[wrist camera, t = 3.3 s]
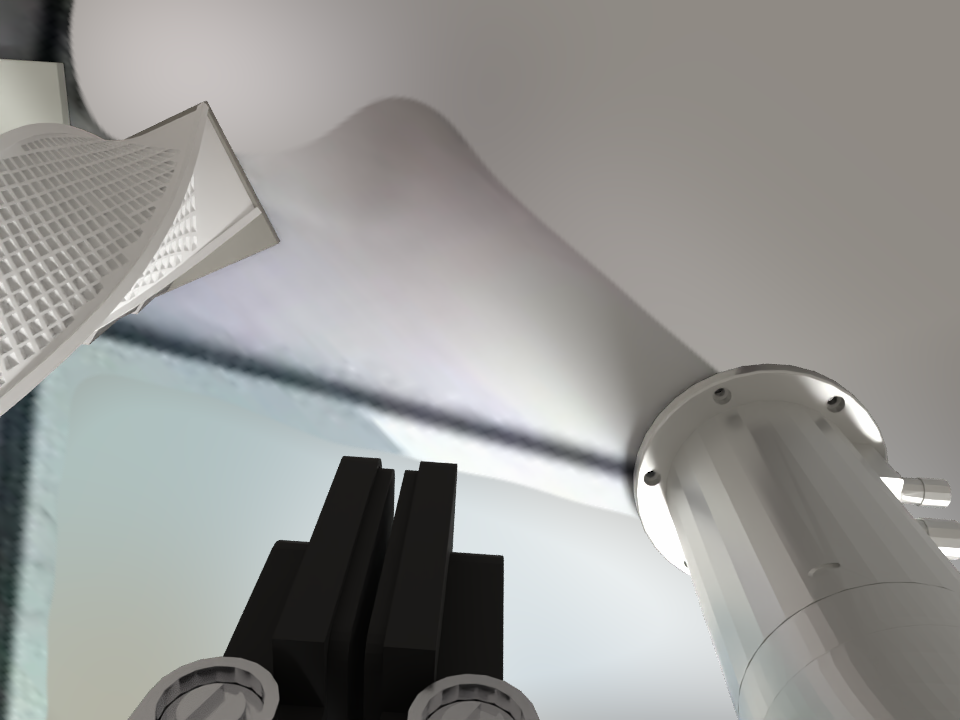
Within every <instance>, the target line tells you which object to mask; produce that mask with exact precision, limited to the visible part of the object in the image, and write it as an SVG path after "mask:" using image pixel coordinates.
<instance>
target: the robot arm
mask: <svg viewBox="0 0 960 720" xmlns="http://www.w3.org/2000/svg"><path fill="white" fill-rule="evenodd" d="M719 388H723V390H722V391H721V392H720V393H714V392H715V391H716V390H718V389H719ZM832 397H834V398H833V399H832V400H831V401H828V400H829V399H830V398H832ZM649 471H653V472H652V473H650V474H648V473H647V472H649ZM456 481H457V464H452V463H437V462H423V461H421V462H420V467H419V471H412V470H411V471H410V470H405V473H404V478H403V482H402V486H401V490H400V495H399V499H398V503H397V508H396V512H395V516H394V486H395V485H394V484H395V471H394V469H384V468H382V463H381V459H379V458H364V457H350V456H343V457H342V459H341V462H340V464H339V467H338V469H337V472H336V475H335V477H334V480H333V482H332V485H331V487H330V490H329V493H328V495H327V498H326V500H325V503H324V506H323V508H322V511H321V513H320V516H319V519H318V521H317V524H316V526H315V529H314V531H313V534H312V537H311V539H310V542H300V541H287V540H279V541H277V542H276V543H275V544H274V546H273V548H272V550H271V552H270V554H269V556H268V559H267V561H266V563H265V565H264V568H263V570H262V572H261V574H260V576H259V579H258V581H257V583H256V585H255V587H254V590H253V592H252V594H251V596H250V599H249V601H248V603H247V605H246V607H245V610H244V612H243V614H242V616H241V618H240V620H239V623H238V625H237V627H236V629H235V631H234V634H233V636H232V638H231V640H230V642H229V645H228V647H227V649H226V651H225V653H224V656H223V657H215V658H208V659H201V660H198V661H195V662H192V663H190V664H187V665H184V666H181V667H179V668H178V669H176V670H174V671H173V672H171V673H169V674H168V675H166V676H164V677H163V678H162V679H161V680H160V681H159V682H158V683H157V684H156V685H155V686H154V687H153V688H152V689H151V690H150V691H149V692H148V693H147V695H146V696H145V697H144V699H143V700H142V701H141V703H140V704H139V705H138V707H137V708H136V709H135V710H134V712H133V713H132V715H131V716H130V717H129V718H128V720H539V717H538V715H537V713H536V710H535V708H534V706H533V704H532V703H531V702H530V701H529V699H528V698H527V697H526V696H525V695H524V694H523V693H522V692H521V691H520V690H518V689H517V688H515V687H513V686H512V685H510V684H508V683H507V682H505V681H503V597H504V596H503V595H504V592H503V591H504V588H503V587H504V558H503V556H500V555H486V554H471V553H457V552H452V549H453V532H454V514H455V498H456ZM633 486H634V498H635V502H636V507H637V512H638V515H639V517H640V520H641V523H642V525H643V528H644V531H645V533H646V534H647V536H648V537H649V539H650V540H651V542H652V544H653V545H654V547H655V548H656V549H657V550H658V551H659V552H660V553H661V554H662V555H663V556H664V557H665V558H666V559H667V560H668V561H669V562H670V563H671V564H673V565H674V566H675V567H677V568H678V569H680V570H681V571H682V572H684V573H686V574H688V575H690V576H691V579H692V582H693V585H694V588H695V591H696V594H697V597H698V600H699V603H700V606H701V609H702V612H703V615H704V618H705V621H706V624H707V627H708V630H709V633H710V636H711V639H712V642H713V645H714V649H715V652H716V654H717V657H718V660H719V663H720V666H721V670H722V672H723V676H724V679H725V682H726V684H727V688H728V691H729V694H730V697H731V700H732V703H733V706H734V709H735V712H736V715H737V718H738V720H960V572H959V571H958V570H957V569H956V567H955V566H954V565H953V564H952V563H951V562H950V560H949V559H952V560H957V559H959V558H960V523H958V522H957V521H955V520H946V519H932V518H917V519H914V517H913V516H912V515H911V514H910V513H909V512H908V510H907V509H906V508H905V507H904V505H903V504H914V505H917V506H924V507H936V508H945V507H947V506H948V504H949V503H950V499H951V488H950V485H949V483H948V482H947V481H946V480H944V479H934V478H920V477H918V478H915V479H914V478H901V476H900V474H899V473H898V472H895V471H894V470H893V468H892V467H891V466H890V465H889V464H888V458H887V450H886V446H885V443H884V440H883V437H882V435H881V432H880V429H879V427H878V425H877V424H876V423H875V421H874V419H873V418H872V416H871V415H870V413H869V412H868V410H867V409H866V408H865V407H864V406H863V405H862V404H861V403H860V402H859V401H858V399H857V398H856V397H855V396H854V395H853V394H851V393H850V392H849V391H847V390H846V389H845V388H843V387H842V386H841V385H840V384H838V383H837V382H836V381H834V380H831V379H829V378H827V377H825V376H823V375H821V374H819V373H817V372H815V371H811V370H807V369H803V368H799V367H795V366H791V365H777V364H761V365H751V366H742V367H738V368H735V369H731V370H728V371H724V372H720V373H717V374H715V375H713V376H711V377H709V378H707V379H705V380H703V381H700V382H698V383H696V384H695V385H693V386H692V387H690V388H689V389H687V390H686V391H685V392H683V393H682V394H680V395H679V396H677V397H676V398H675V399H674V400H673V401H672V402H671V403H670V404H669V405H668V406H667V407H666V408H665V409H664V410H663V411H662V412H661V413H660V414H659V415H658V417H657V418H656V419H655V421H654V422H653V424H652V425H651V427H650V428H649V430H648V431H647V433H646V435H645V437H644V439H643V442H642V444H641V446H640V449H639V451H638V453H637V458H636V463H635V468H634V473H633Z"/></svg>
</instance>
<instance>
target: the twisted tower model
mask: <svg viewBox="0 0 960 720" xmlns="http://www.w3.org/2000/svg"><path fill="white" fill-rule="evenodd" d="M279 242H280V240H279V238H278V237H277V235H276V233H275V231H274V229H273V227H272V225H271V223H270V221H269V219H268V217H267V215H266V213H265V212H264V210H263V208H262V206H261V204H260V202H259V200H258V198H257V196H256V194H255V192H254V190H253V189H252V187H251V185H250V183H249V181H248V179H247V177H246V175H245V173H244V171H243V169H242V167H241V165H240V164H239V162H238V160H237V158H236V156H235V154H234V152H233V150H232V149H231V146H230V144H229V143H228V141H227V139H226V137H225V135H224V133H223V131H222V129H221V127H220V125H219V123H218V121H217V119H216V117H215V116H214V114H213V112H212V110H211V108H210V106H209V104H208V102H207V101H205V102H202V103H200V104H198V105H196V106H194V107H191V108H189V109H187V110H185V111H183V112H181V113H179V114H177V115H175V116H173V117H170V118H168V119H166V120H164V121H162V122H160V123H158V124H156V125H154V126H152V127H150V128H148V129H146V130H143V131H141V132H139V133H137V134H135V135H133V136H131V137H129V138H127V139H125V140H104V139H103V138H101V137H99V136H97V135H94V134H92V133H90V132H87V131H85V130H83V129H80V128H76V127H73V126H70V125H65V124H59V123H35V124H29V125H24V126H21V127H18V128H15V129H12V130H10V131H7V132H5V133H2V134H0V416H2V415H3V414H4V413H5V412H6V411H8V410H9V409H10V408H11V407H12V406H14V405H15V404H16V403H17V402H18V401H20V400H21V399H22V398H23V397H24V396H26V395H27V394H28V393H29V392H30V391H31V390H32V389H34V388H35V387H36V386H37V385H38V384H39V383H40V382H41V381H42V380H44V379H45V378H46V377H47V376H48V375H49V374H50V373H51V372H52V371H54V370H55V369H56V368H57V367H58V366H59V365H60V364H61V363H62V362H63V361H65V360H66V359H67V358H68V357H69V356H70V355H71V354H72V353H73V352H74V351H75V350H76V349H77V348H78V347H79V346H80V345H81V344H86V345H89V344H91V343H92V342H93V341H94V340H95V339H96V338H98V337H99V336H100V335H101V334H102V333H103V332H105V331H106V330H107V329H108V328H109V327H110V326H111V325H113V324H114V323H115V322H116V321H117V320H118V319H120V318H122V317H124V316H126V315H128V314H131V313H132V314H138V313H139V312H140V311H141V310H142V309H143V308H144V307H145V306H146V305H147V304H148V303H149V302H150V301H151V300H153V299H154V298H155V297H157V296H159V295H162V294H164V293H166V292H169V291H171V290H173V289H176V288H178V287H180V286H182V285H185V284H187V283H189V282H192V281H194V280H196V279H198V278H201V277H203V276H205V275H208V274H210V273H212V272H214V271H217V270H219V269H221V268H224V267H226V266H228V265H230V264H233V263H235V262H237V261H240V260H242V259H244V258H246V257H249V256H251V255H253V254H256V253H258V252H260V251H263V250H265V249H267V248H269V247H272V246H274V245H276V244H278V243H279Z"/></svg>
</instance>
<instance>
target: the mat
mask: <svg viewBox="0 0 960 720" xmlns="http://www.w3.org/2000/svg"><path fill="white" fill-rule="evenodd" d="M35 123H59V124H65V125H70V119H69V110H68V101H67V92H66V83H65V74H64V65H63V63H55V62H40V61H26V60H11V59H0V134H2V133H5V132H7V131H10V130H12V129H15V128H18V127H21V126H24V125H29V124H35Z"/></svg>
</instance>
